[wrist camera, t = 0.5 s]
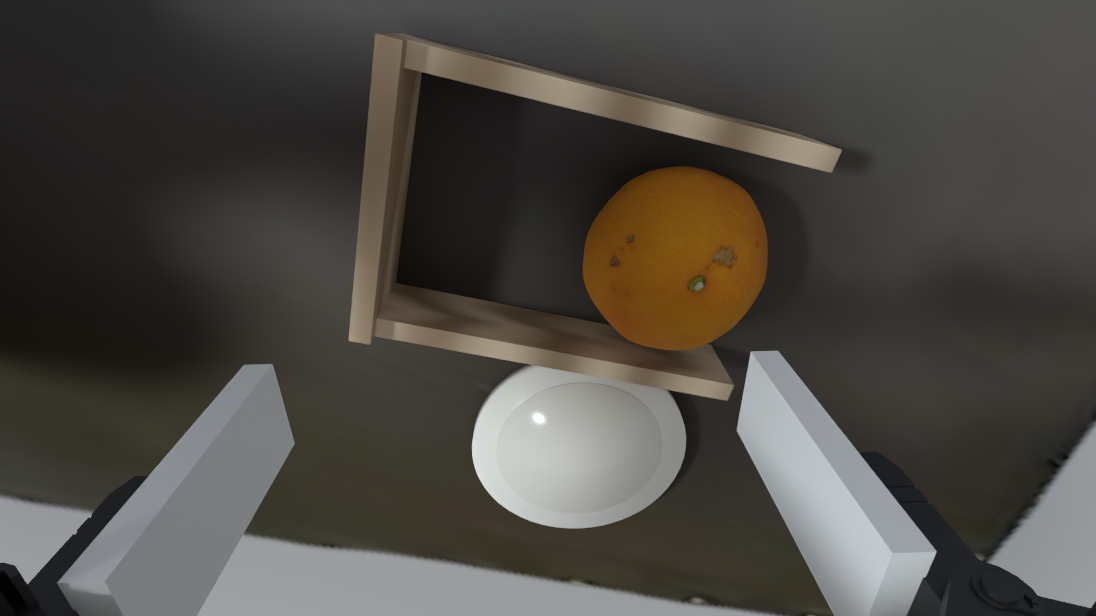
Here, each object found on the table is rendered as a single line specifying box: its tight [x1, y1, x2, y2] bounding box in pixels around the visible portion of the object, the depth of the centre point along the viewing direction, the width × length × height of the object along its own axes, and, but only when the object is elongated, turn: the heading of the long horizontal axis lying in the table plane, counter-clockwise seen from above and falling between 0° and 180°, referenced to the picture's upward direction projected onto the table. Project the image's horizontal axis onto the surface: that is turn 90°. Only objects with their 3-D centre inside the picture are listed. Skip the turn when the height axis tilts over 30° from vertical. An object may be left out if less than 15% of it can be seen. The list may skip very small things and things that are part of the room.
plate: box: [472, 364, 686, 528], centre depth 42 cm, size 16×16×1 cm
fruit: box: [583, 166, 768, 350], centre depth 32 cm, size 10×10×8 cm
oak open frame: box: [349, 33, 842, 401], centre depth 32 cm, size 23×16×6 cm
